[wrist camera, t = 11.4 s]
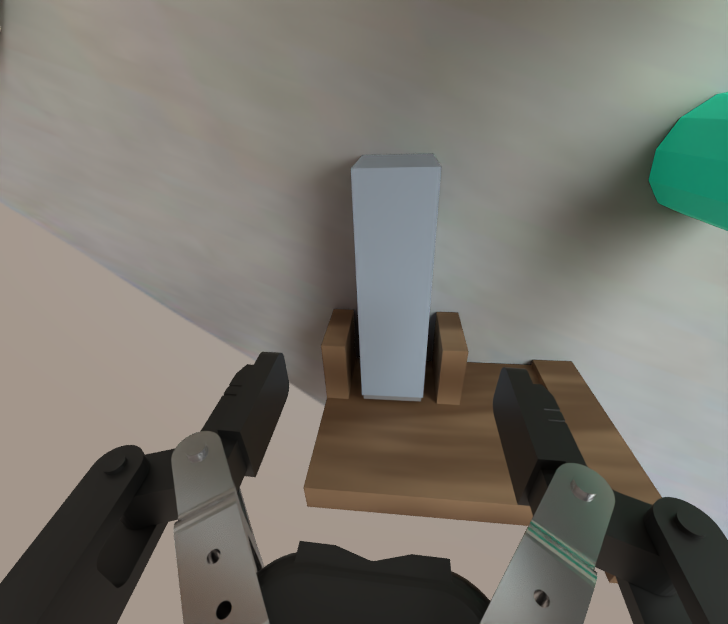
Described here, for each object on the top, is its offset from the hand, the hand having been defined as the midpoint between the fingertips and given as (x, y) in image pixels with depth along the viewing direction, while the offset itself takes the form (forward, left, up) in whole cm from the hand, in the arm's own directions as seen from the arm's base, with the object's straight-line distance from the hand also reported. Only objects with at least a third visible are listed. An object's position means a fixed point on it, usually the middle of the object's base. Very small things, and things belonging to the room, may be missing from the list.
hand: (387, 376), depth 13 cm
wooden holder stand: (+7, +4, -12) cm, 14 cm away
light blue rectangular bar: (+1, 0, -12) cm, 12 cm away
